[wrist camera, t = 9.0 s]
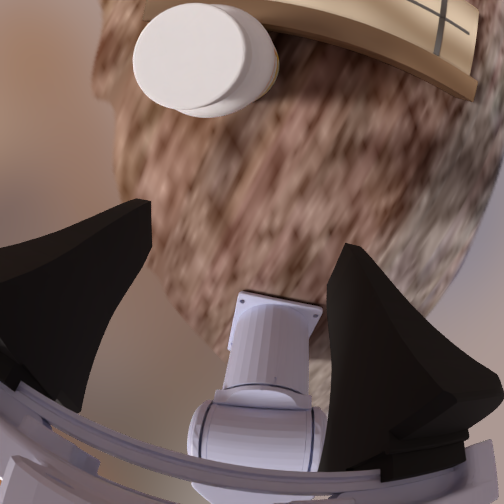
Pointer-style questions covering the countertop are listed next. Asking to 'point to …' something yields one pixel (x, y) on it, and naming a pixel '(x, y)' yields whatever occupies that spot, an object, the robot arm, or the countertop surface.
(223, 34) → the supplement bottle
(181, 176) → the countertop surface
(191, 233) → the countertop surface
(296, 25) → the board
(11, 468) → the robot arm
